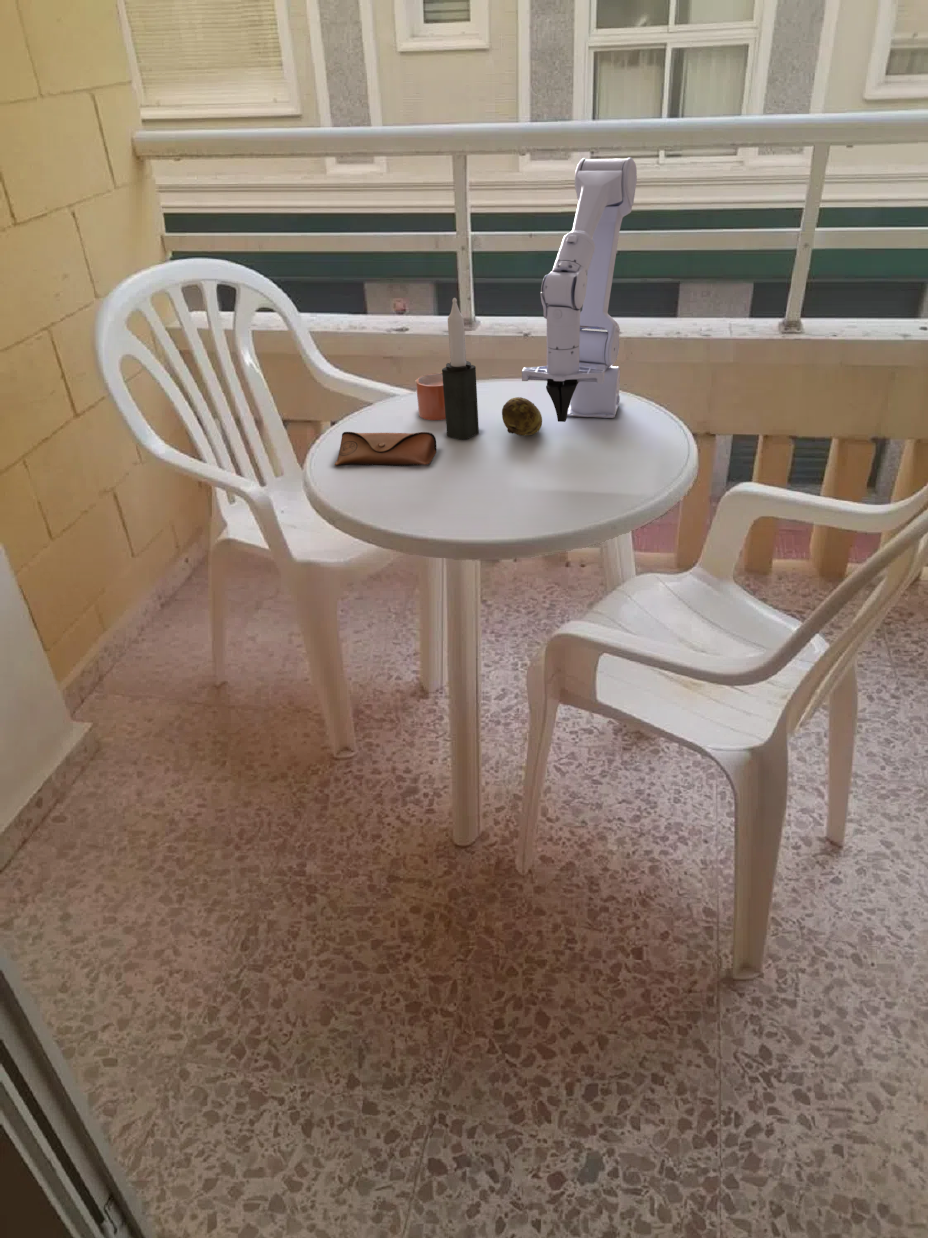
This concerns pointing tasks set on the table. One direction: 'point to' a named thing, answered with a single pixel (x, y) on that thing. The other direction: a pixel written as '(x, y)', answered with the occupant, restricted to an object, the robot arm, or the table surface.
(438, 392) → the flower pot
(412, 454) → the sunglasses case
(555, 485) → the table surface
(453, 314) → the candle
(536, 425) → the potato
